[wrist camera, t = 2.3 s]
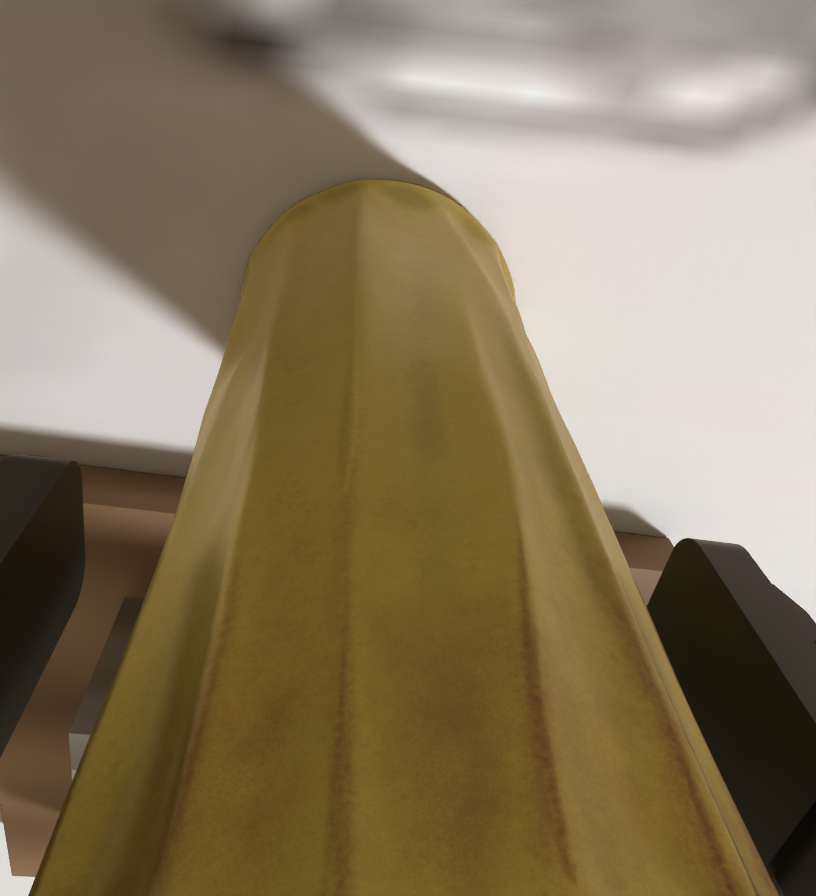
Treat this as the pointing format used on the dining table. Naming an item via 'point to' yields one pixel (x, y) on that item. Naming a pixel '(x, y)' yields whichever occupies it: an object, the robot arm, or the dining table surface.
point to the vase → (392, 614)
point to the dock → (124, 646)
